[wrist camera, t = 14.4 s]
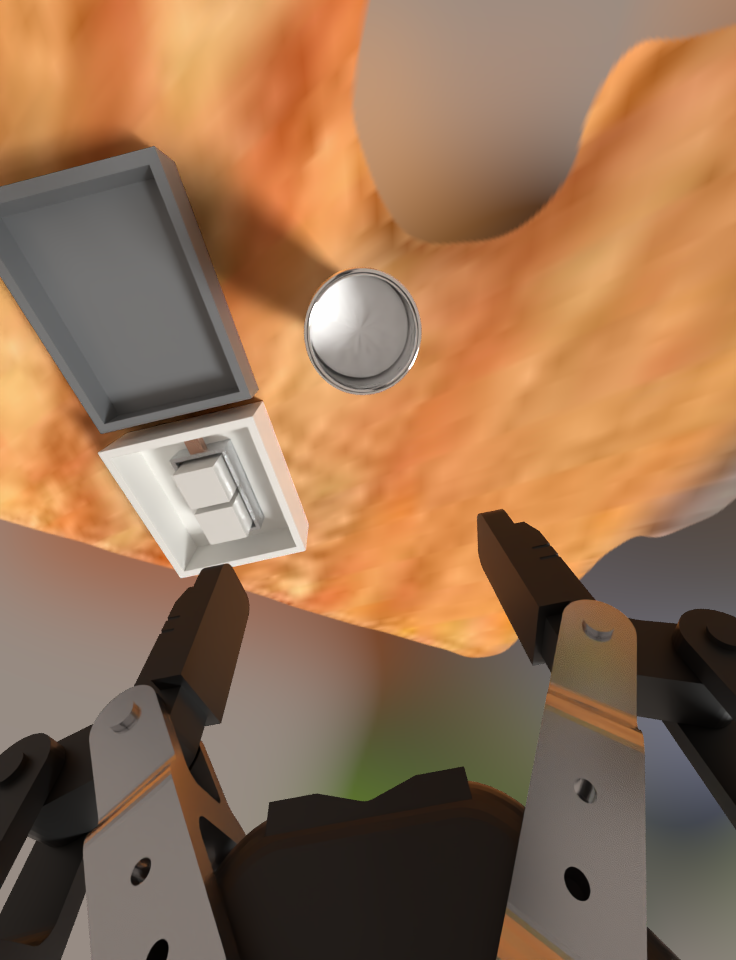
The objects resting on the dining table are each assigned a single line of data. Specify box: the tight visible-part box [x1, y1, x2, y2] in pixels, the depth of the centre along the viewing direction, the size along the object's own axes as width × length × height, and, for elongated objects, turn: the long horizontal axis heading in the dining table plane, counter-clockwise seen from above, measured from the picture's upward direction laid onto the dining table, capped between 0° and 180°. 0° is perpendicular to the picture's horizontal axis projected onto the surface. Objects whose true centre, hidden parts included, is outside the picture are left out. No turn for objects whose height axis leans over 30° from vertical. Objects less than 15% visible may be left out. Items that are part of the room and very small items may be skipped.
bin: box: [98, 401, 309, 578], centre depth 37 cm, size 16×15×5 cm
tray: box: [0, 146, 259, 434], centre depth 29 cm, size 18×15×3 cm
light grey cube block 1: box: [172, 452, 237, 510], centre depth 35 cm, size 4×4×4 cm
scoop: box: [169, 437, 265, 531], centre depth 37 cm, size 12×6×2 cm, turn 12°
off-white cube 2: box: [194, 488, 253, 545], centre depth 37 cm, size 4×4×4 cm
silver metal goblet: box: [304, 267, 422, 395], centre depth 26 cm, size 7×7×15 cm
